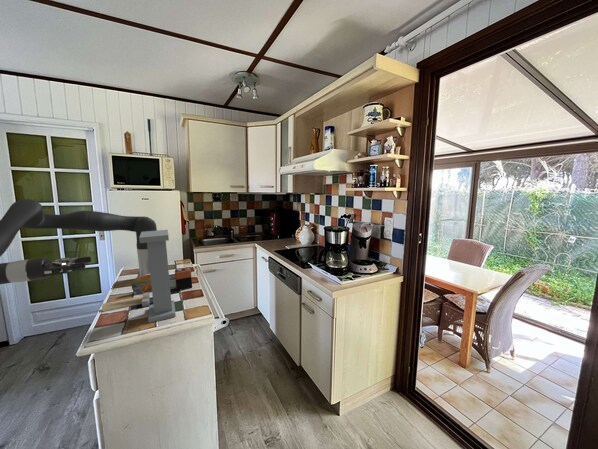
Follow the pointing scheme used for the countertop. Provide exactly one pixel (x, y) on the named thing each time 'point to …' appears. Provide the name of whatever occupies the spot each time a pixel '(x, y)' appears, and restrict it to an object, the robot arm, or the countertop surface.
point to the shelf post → (158, 275)
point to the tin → (142, 284)
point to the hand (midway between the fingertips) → (88, 262)
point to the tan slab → (128, 302)
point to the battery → (183, 278)
